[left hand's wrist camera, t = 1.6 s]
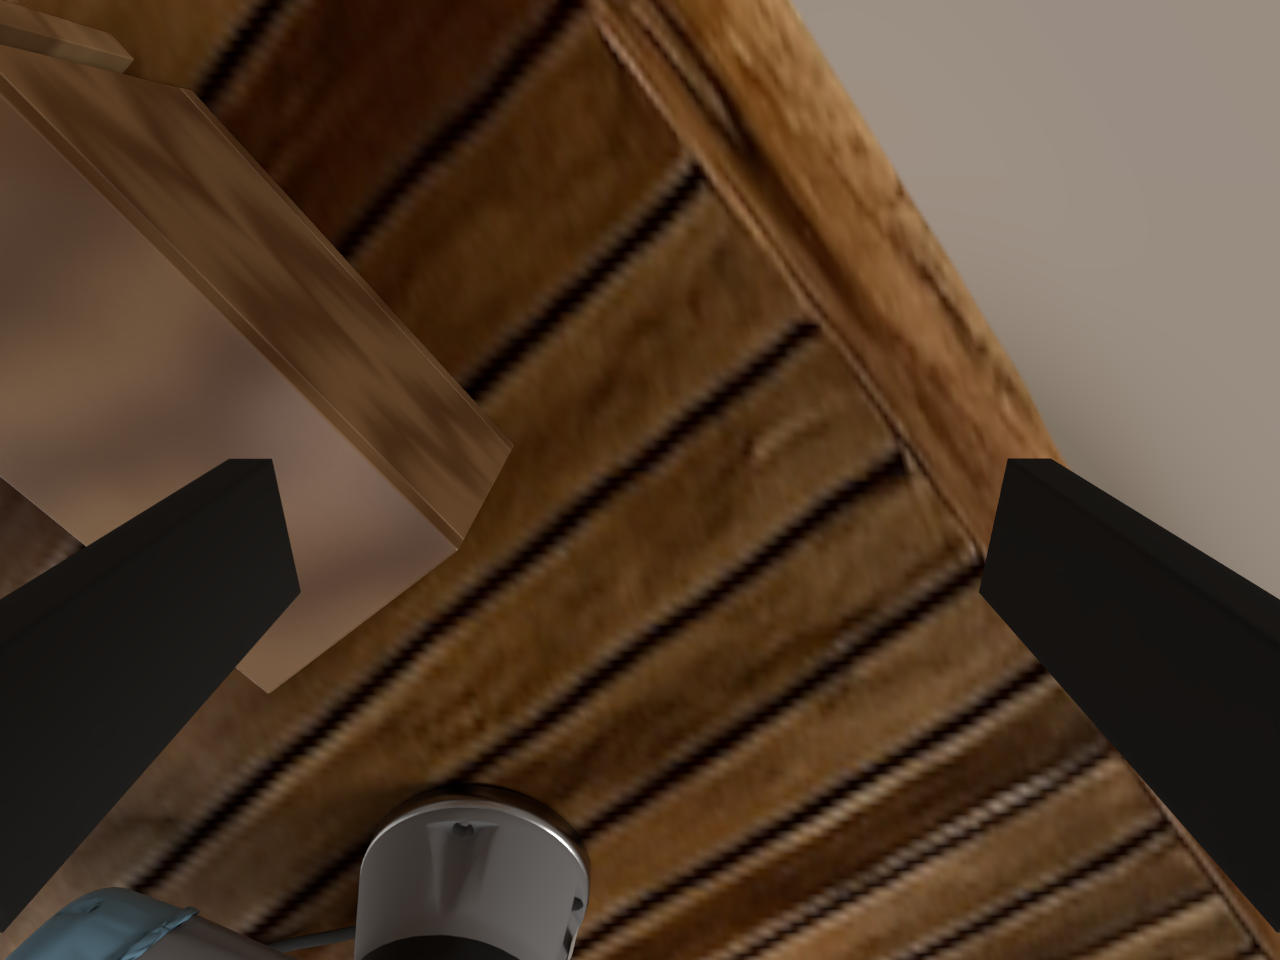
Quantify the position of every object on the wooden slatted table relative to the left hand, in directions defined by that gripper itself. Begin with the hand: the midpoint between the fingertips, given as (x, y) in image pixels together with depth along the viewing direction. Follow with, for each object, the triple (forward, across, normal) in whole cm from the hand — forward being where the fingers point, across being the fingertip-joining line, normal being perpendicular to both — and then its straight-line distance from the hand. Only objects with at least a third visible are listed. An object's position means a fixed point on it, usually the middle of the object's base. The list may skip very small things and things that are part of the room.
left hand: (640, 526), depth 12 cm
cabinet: (+22, +17, +1) cm, 28 cm away
